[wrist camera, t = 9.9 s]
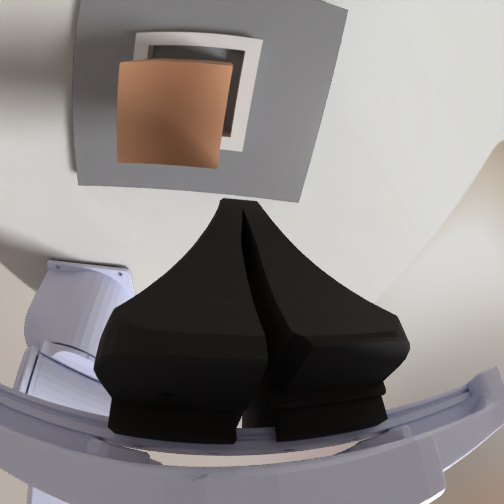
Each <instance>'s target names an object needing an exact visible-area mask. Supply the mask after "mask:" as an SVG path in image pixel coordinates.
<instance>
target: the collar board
mask: <svg viewBox="0 0 504 504" xmlns="http://www.w3.org/2000/svg"><path fill="white" fill-rule="evenodd" d="M347 13H348V10H346V9H344V8H341V7H338V6H335V5H332V4H329V3H325V2H322V1H319V0H81V3H80V9H79V15H78V21H77V29H76V37H75V48H74V61H73V83H72V112H73V135H74V149H75V160H76V169H77V178H78V185H84V186H116V187H137V188H154V189H169V190H183V191H195V192H207V193H218V194H228V195H237V196H247V197H256V198H264V199H272V200H280V201H288V202H296V203H298V202H299V199H300V196H301V192H302V189H303V185H304V182H305V178H306V175H307V171H308V168H309V164H310V160H311V157H312V153H313V150H314V146H315V142H316V139H317V135H318V131H319V127H320V124H321V120H322V116H323V112H324V108H325V105H326V101H327V97H328V93H329V89H330V85H331V81H332V77H333V73H334V69H335V65H336V61H337V56H338V52H339V48H340V44H341V39H342V35H343V31H344V26H345V22H346V17H347ZM153 58H188V59H204V60H216V61H225V62H232V64H233V70H232V75H231V81H230V87H229V93H228V99H227V105H226V111H225V118H224V124H223V131H222V138H221V145H220V152H219V159H218V167H217V169H211V168H201V167H189V166H176V165H161V164H142V163H117V96H118V78H119V66H120V62H127V61H135V60H143V59H153Z"/></svg>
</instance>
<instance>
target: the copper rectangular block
mask: <svg viewBox="0 0 504 504" xmlns="http://www.w3.org/2000/svg"><path fill="white" fill-rule="evenodd" d="M232 70H233V64H232V62H225V61H216V60H204V59H188V58H153V59H143V60H135V61H127V62H120V66H119V78H118V96H117V163H142V164H161V165H176V166H189V167H201V168H211V169H217V167H218V159H219V152H220V145H221V138H222V131H223V124H224V118H225V111H226V105H227V99H228V93H229V87H230V81H231V75H232Z"/></svg>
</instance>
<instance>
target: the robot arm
mask: <svg viewBox="0 0 504 504" xmlns="http://www.w3.org/2000/svg"><path fill="white" fill-rule="evenodd" d="M47 267H48V272H47V273H46V275H45V277H44V279H43V281H42V283H41V285H40V287H39V289H38V291H37V293H36V295H35V297H34V299H33V301H32V303H31V305H30V307H29V309H28V312H27V315H26V319H25V326H24V335H25V340H26V344H27V346H28V348H26V350H25V352H24V355H23V358H22V361H21V363H20V367H19V370H18V373H17V376H16V379H15V383H14V387H13V388H10V387H7V386H5V385H3V384H0V468H2V469H3V470H4V471H6V472H8V473H9V474H11V475H13V476H14V477H16V478H18V479H20V480H21V481H23V482H25V483H27V484H28V494H27V504H428V503H430V502H431V501H433V500H435V499H436V498H438V497H439V496H440V495H442V493H443V492H444V490H445V489H446V483H445V478H444V473H443V472H444V471H445V470H447V469H448V468H450V467H451V466H452V465H454V464H455V463H457V462H458V461H460V460H461V459H462V458H464V457H465V456H466V455H468V454H469V453H470V452H471V451H473V450H474V449H475V448H476V447H478V446H479V445H480V444H481V443H483V442H484V441H485V440H486V439H487V438H489V437H490V436H491V435H492V434H493V433H494V432H496V431H497V430H498V429H499V428H500V427H502V426H503V425H504V383H503V381H502V378H501V376H500V374H499V371H498V369H497V367H496V366H493V367H491V368H489V369H486V370H484V371H482V372H480V373H479V374H477V375H476V376H474V377H473V378H472V379H471V380H470V381H468V382H467V384H465V385H463V386H460V387H458V388H455V389H452V390H449V391H447V392H444V393H442V394H439V395H436V396H432V397H429V398H427V399H423V400H420V401H417V402H414V403H410V404H406V405H403V406H399V407H395V408H392V409H388V410H385V407H384V403H383V400H382V397H381V396H382V395H384V394H385V393H386V389H385V386H384V382H383V381H384V380H385V379H386V378H387V377H388V376H389V375H390V374H391V373H392V372H393V371H395V370H396V369H397V368H398V367H399V366H400V365H401V364H402V362H403V361H404V360H405V359H406V357H407V355H408V352H409V350H410V343H409V341H408V339H407V337H406V334H405V332H404V330H403V327H402V325H401V323H400V321H399V319H398V317H397V316H396V315H394V314H392V313H390V312H388V311H386V310H384V309H382V308H380V307H378V306H377V305H374V304H373V303H371V302H369V301H367V300H365V299H364V298H362V297H360V296H359V295H357V294H356V293H354V292H352V291H351V290H349V289H348V288H346V287H345V286H343V285H342V284H340V283H339V282H337V281H336V280H334V279H333V278H332V277H330V276H329V275H328V274H326V273H325V272H324V271H322V270H321V269H320V268H319V267H317V266H316V265H315V264H314V263H313V262H312V261H310V260H309V259H308V258H307V257H306V256H305V255H304V254H302V253H301V252H300V251H299V250H298V249H297V248H296V247H295V246H294V245H293V244H292V243H291V242H290V241H289V239H288V238H287V237H286V236H285V235H284V234H283V233H282V232H281V231H280V229H279V228H278V227H277V226H276V225H275V224H274V222H273V221H272V220H271V219H270V217H269V216H268V215H267V213H266V212H265V211H264V210H263V208H262V207H261V206H260V204H259V203H258V202H257V201H249V200H238V199H227V198H223V199H222V200H220V204H219V207H218V209H217V211H216V213H215V215H214V217H213V219H212V220H211V222H210V224H209V225H208V227H207V228H206V230H205V231H204V232H203V234H202V235H201V236H200V238H199V239H198V241H197V242H196V243H195V244H194V245H193V247H192V248H191V249H190V250H189V251H188V252H187V253H186V254H185V255H184V256H183V258H181V259H180V260H179V261H178V262H177V263H176V264H175V265H174V266H173V267H172V268H171V269H170V270H169V271H168V272H166V273H165V274H164V275H163V276H162V277H160V278H159V279H158V280H156V281H155V282H154V283H153V284H151V285H150V286H149V287H147V288H146V289H145V290H143V291H142V292H140V293H139V294H137V295H136V296H135V295H134V289H133V284H132V278H131V272H130V271H129V270H128V269H126V268H117V267H108V266H98V265H89V264H80V263H72V262H63V261H55V260H48V262H47ZM119 272H120V273H119ZM241 416H242V428H237V425H238V423H239V421H240V419H241ZM370 437H371V438H370ZM367 438H369V439H367ZM362 439H366V440H363V441H360V442H358V443H357V444H356V445H355V446H353V447H351V448H349V449H347V450H345V451H342V452H340V453H337V454H334V455H332V456H326V457H321V458H314V459H308V460H301V461H293V462H284V463H276V464H265V465H251V466H233V467H184V466H165V465H163V464H161V463H160V462H157V461H155V460H152V459H150V455H149V454H148V453H147V452H142V451H138V450H134V449H130V448H136V449H142V450H149V451H157V452H165V453H176V454H190V455H191V454H192V455H213V456H214V455H215V456H239V455H263V454H275V453H287V452H295V451H304V450H310V449H317V448H323V447H329V446H334V445H339V444H345V443H349V442H354V441H358V440H362ZM122 446H124V447H122ZM126 447H130V448H126Z"/></svg>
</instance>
